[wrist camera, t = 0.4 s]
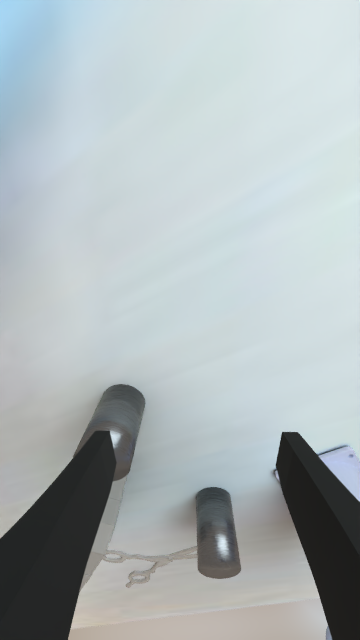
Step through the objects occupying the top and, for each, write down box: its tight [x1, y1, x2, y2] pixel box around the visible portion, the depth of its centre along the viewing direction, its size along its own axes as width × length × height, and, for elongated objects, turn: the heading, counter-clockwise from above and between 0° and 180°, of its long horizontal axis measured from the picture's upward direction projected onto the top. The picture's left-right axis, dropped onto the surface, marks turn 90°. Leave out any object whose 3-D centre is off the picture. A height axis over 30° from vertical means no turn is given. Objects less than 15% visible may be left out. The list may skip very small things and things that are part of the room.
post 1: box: [73, 384, 145, 481], centre depth 19 cm, size 4×4×6 cm
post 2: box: [196, 487, 241, 579], centre depth 24 cm, size 4×4×6 cm
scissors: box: [102, 546, 198, 587], centre depth 34 cm, size 11×1×20 cm
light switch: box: [79, 475, 127, 592], centre depth 23 cm, size 2×12×8 cm, turn 155°
